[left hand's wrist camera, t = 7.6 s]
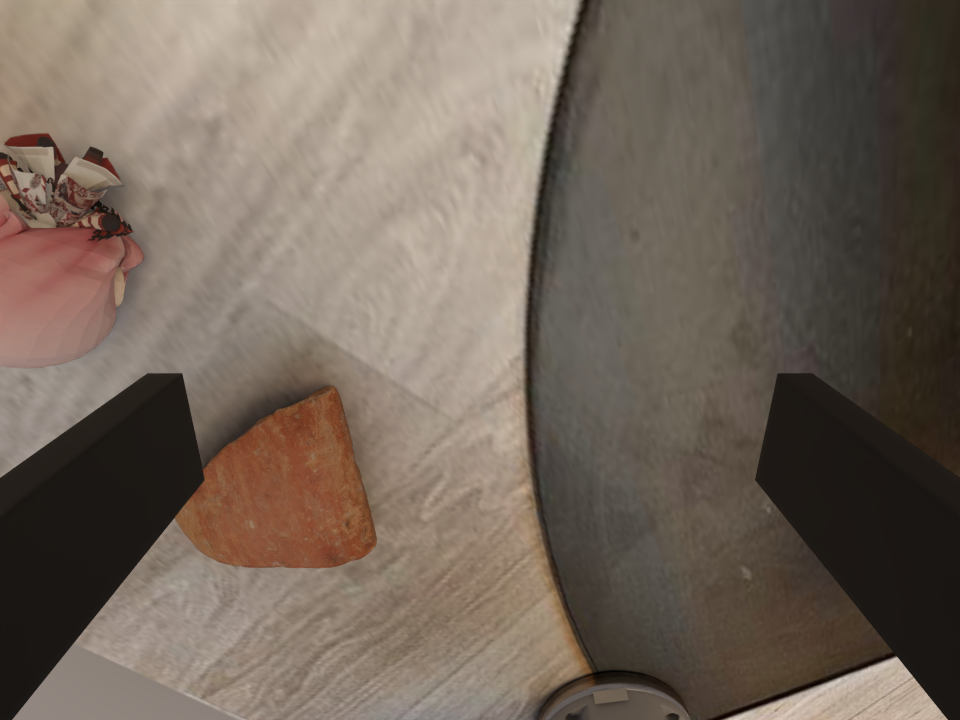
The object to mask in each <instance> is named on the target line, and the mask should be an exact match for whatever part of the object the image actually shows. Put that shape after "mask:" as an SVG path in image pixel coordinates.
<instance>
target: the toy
mask: <svg viewBox="0 0 960 720" xmlns="http://www.w3.org/2000/svg"><path fill="white" fill-rule="evenodd" d="M4 145H5V146H7V147H8V148H10V149H11V150H12V151H13V152H14V153H15V154H16V155H17V156H18V157H19V158H20V159H21V160H22V161H23V162H24V163H25V164H26V165H27V166H28V168H29V171H30V173H25V172H23V171H22V169H21V168H17V162H16V161H13V160H12V158H11V157H10V156H9V154H8V155H7V154H5V153H2V152H0V180H1V182H2V183H3V185H4V186H5V187H6V188H7V189H8V190H1V191H0V366H4V367H13V368H42V367H47V366H53V365H59V364H63V363H66V362H69V361H71V360H74V359H77V358H79V357H81V356H83V355H84V354H86V353H88V352H89V351H91V350H92V349H94V348H95V347H96V346H98V345H99V344H100V343H101V342H102V341H103V340H104V339H105V338H106V336H107V335H108V334H109V333H110V332H111V330H112V327H113V325H114V323H115V317H116V307H119V306H120V305H121V303H122V300H123V296H124V292H125V284H126V281H127V277H128V274H129V270H130V269H132V268H134V267H136V266H138V265H139V264H141V262H142V261H143V259H144V255H143V252H142V250H141V249H140V247H139V245H138V244H137V243H136V242H135V241H134V240H133V239H132V238H130V237H129V236H128V235H127V234H129V233H132V232H133V231H132V229H131V227H130V225H129V224H128V225H127V223H126V222H125V220H124V219H123V218H122V217H121V215H120V214H119V213H118V212H117V211H116V212H114V209H113V208H112V207H111V208H112V210H111V212H107V210H109V209H108V207H106V206H104V205H103V206H102V204H101V202H100V201H99V200H100V199H101V198H102V196H103V195H104V194H105V193H106V191H107V190H105V191H102V192H92V191H94V190H96V189H102V188H105V187H106V186H109V187H111V186H123V184H122V182H121V180H120V178H119V176H118V174H117V173H116V171H115V169H114V167H113V166H112V164H111V163H110V161H109V160H108V158H103V152H102V151H100V150H98V149H96V148H94V147H90V148H89V149H88V151H87V153H86V154H85V156H84V158H83V159H81V158H78V157H75V158H74V159H73V160H72V162H71V163H70V164H69V165H68V164H66V163H65V160H64V158H63V156H62V154H61V152H60V151H59V149H58V147H57V146H56V144H55V143H54V141H53V140H52V138H51V137H50V135H49V134H48V133H42V134H27V135H19V136H15V137H10V138H8V139H7V141H6V142H5V143H4ZM95 206H97V207H98V208H96V210H95V211H94V212H92V213H86V212H87V210H89V209H90V208H91V209H92V210H94V207H95ZM103 208H106V211H105V210H103ZM85 213H86V214H85ZM128 229H129V230H128Z"/></svg>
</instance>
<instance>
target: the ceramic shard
mask: <svg viewBox="0 0 960 720" xmlns="http://www.w3.org/2000/svg"><path fill="white" fill-rule="evenodd" d="M203 473H204V478H205V480H204V482H203V483H202V484H201V485H200V487H199V488H198V489H197V490H196V492H195V493H194V494H193V495H192V497H191V498H190V499H189V500H188V502H187V503H186V504H185V505H184V506H183V508H182V509H181V510H180V511H179V513H178V514H177V515H176V516H175V519H176V522H177V524H178V525H179V526H180V528H181V529H182V531H183V532H184V534H185V535H186V536H187V537H188V538H189V539H190V540H191V541H192V543H193V544H194V545H195V546H196V548H197V549H198V550H199V551H201V552H202V553H203V554H205V555H206V556H208V557H210V558H212V559H214V560H216V561H218V562H221V563H224V564H228V565H233V566H243V567H252V568H265V567H287V568H330V567H336V566H339V565H342V564H345V563H347V562H350V561H354V560H358V559H361V558H363V557H364V556H366V555H367V554H368V553H370V552H371V551H372V550H373V549H374V547H375V546H376V543H377V537H376V533H375V529H374V525H373V520H372V517H371V512H370V508H369V504H368V500H367V496H366V493H365V490H364V486H363V483H362V481H361V474H360V471H359V468H358V466H357V464H356V461H355V457H354V452H353V447H352V441H351V437H350V433H349V429H348V425H347V421H346V418H345V414H344V410H343V406H342V402H341V398H340V395H339V393H338V391H337V389H336V388H335V387H334V386H328V387H325V388H323V389H320V390H318V391H316V392H314V393H313V394H311V395H309V396H308V397H307V398H306V399H303V400H301V401H299V402H297V403H295V404H294V405H291V406H289V407H286V408H283V409H277V410H276V411H275V412H274V413H273V414H271V415H267V416H266V417H264V418H262V419H260V420H258V421H257V422H256V423H255V425H254V426H252V427H251V428H250V429H248V430H247V431H246V433H245V434H244V435H242V436H240V437H239V438H238V439H237V440H235V441H232V442H230V443H229V444H228V445H226V446H225V447H224V448H223V449H221V450H220V452H219V453H218V454H217V455H216V456H214V457H213V458H212V459H211V460H210V461H209V463H208V464H207V465H206V467H205V468H204V469H203Z"/></svg>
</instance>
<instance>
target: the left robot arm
mask: <svg viewBox="0 0 960 720" xmlns="http://www.w3.org/2000/svg"><path fill="white" fill-rule="evenodd" d="M204 480H205V478H204V473H203V469H202V464H201V459H200V455H199V450H198V445H197V441H196V436H195V431H194V426H193V422H192V417H191V412H190V408H189V403H188V398H187V394H186V389H185V384H184V379H183V375H182V373H147V374H146V375H145V376H143V377H142V378H140V379H139V380H138V381H136V382H135V383H133V384H132V385H131V386H129V387H128V388H126V389H125V390H123V391H122V392H121V393H119V394H118V395H116V396H115V397H114V398H112V399H111V400H109V401H108V402H107V403H105V404H104V405H102V406H101V407H100V408H98V409H97V410H95V411H94V412H92V413H91V414H90V415H88V416H87V417H85V418H84V419H83V420H81V421H80V422H78V423H77V424H76V425H74V426H73V427H71V428H70V429H68V430H67V431H66V432H64V433H63V434H61V435H60V436H59V437H57V438H56V439H54V440H53V441H52V442H50V443H49V444H47V445H46V446H45V447H43V448H42V449H40V450H39V451H37V452H36V453H35V454H33V455H32V456H30V457H29V458H28V459H26V460H25V461H23V462H22V463H21V464H19V465H18V466H16V467H15V468H13V469H12V470H11V471H9V472H8V473H6V474H5V475H4V476H2V477H1V478H0V720H12V719H13V718H14V717H15V715H16V714H17V713H18V712H19V710H20V709H21V708H22V707H23V705H24V704H25V703H26V702H27V701H28V699H29V698H30V697H31V696H32V694H33V693H34V692H35V691H36V689H37V688H38V687H39V686H40V684H41V683H42V682H43V681H44V679H45V678H46V677H47V676H48V674H49V673H50V672H51V671H52V669H53V668H54V667H55V666H56V664H57V663H58V662H59V661H60V659H61V658H62V657H63V656H64V654H65V653H66V652H67V651H68V649H69V648H70V647H71V646H72V645H73V643H74V642H75V641H76V640H77V638H78V637H79V636H80V635H81V633H82V632H83V631H84V630H85V628H86V627H87V626H88V625H89V623H90V622H91V621H92V620H93V618H94V617H95V616H96V615H97V613H98V612H99V611H100V610H101V608H102V607H103V606H104V605H105V604H106V602H107V601H108V600H109V599H110V597H111V596H112V595H113V594H114V592H115V591H116V590H117V589H118V587H119V586H120V585H121V584H122V582H123V581H124V580H125V579H126V577H127V576H128V575H129V574H130V572H131V571H132V570H133V569H134V567H135V566H136V565H137V564H138V562H139V561H140V560H141V559H142V557H143V556H144V555H145V554H146V553H147V551H148V550H149V549H150V548H151V546H152V545H153V544H154V543H155V541H156V540H157V539H158V538H159V536H160V535H161V534H162V533H163V531H164V530H165V529H166V528H167V526H168V525H169V524H170V523H171V521H172V520H173V519H174V518H175V516H176V515H177V514H178V513H179V511H180V510H181V509H182V508H183V506H184V505H185V504H186V503H187V502H188V500H189V499H190V498H191V497H192V495H193V494H194V493H195V492H196V490H197V489H198V488H199V487H200V485H201V484H202V483H203V482H204ZM755 480H756V482H757V483H758V484H759V485H760V487H761V488H762V489H763V490H764V492H765V493H766V494H767V495H768V497H769V498H770V499H771V500H772V502H773V503H774V504H775V505H776V506H777V508H778V509H779V510H780V511H781V513H782V514H783V515H784V516H785V518H786V519H787V520H788V521H789V523H790V524H791V525H792V526H793V528H794V529H795V530H796V531H797V533H798V534H799V535H800V536H801V538H802V539H803V540H804V541H805V543H806V544H807V545H808V546H809V548H810V549H811V550H812V551H813V553H814V554H815V555H816V556H817V557H818V559H819V560H820V561H821V562H822V564H823V565H824V566H825V567H826V569H827V570H828V571H829V572H830V574H831V575H832V576H833V577H834V579H835V580H836V581H837V582H838V584H839V585H840V586H841V587H842V589H843V590H844V591H845V592H846V594H847V595H848V596H849V597H850V599H851V600H852V601H853V602H854V604H855V605H856V606H857V607H858V608H859V610H860V611H861V612H862V613H863V615H864V616H865V617H866V618H867V620H868V621H869V622H870V623H871V625H872V626H873V627H874V628H875V630H876V631H877V632H878V633H879V635H880V636H881V637H882V638H883V640H884V641H885V642H886V643H887V645H888V646H889V647H890V648H891V650H892V651H893V652H894V653H895V654H896V656H897V657H898V658H899V659H900V661H901V662H902V663H903V664H904V666H905V667H906V668H907V669H908V671H909V672H910V673H911V674H912V676H913V677H914V678H915V679H916V681H917V682H918V683H919V684H920V686H921V687H922V688H923V689H924V691H925V692H926V693H927V694H928V696H929V697H930V698H931V699H932V701H933V702H934V703H935V704H936V705H937V707H938V708H939V709H940V710H941V712H942V713H943V714H944V715H945V717H946V718H947V719H948V720H960V478H959V477H958V476H956V475H955V474H954V473H952V472H951V471H949V470H948V469H947V468H945V467H944V466H942V465H941V464H939V463H938V462H937V461H935V460H934V459H932V458H931V457H930V456H928V455H927V454H925V453H924V452H923V451H921V450H920V449H918V448H917V447H915V446H914V445H913V444H911V443H910V442H908V441H907V440H906V439H904V438H903V437H901V436H900V435H899V434H897V433H896V432H894V431H893V430H892V429H890V428H889V427H887V426H886V425H884V424H883V423H882V422H880V421H879V420H877V419H876V418H875V417H873V416H872V415H870V414H869V413H868V412H866V411H865V410H863V409H862V408H860V407H859V406H858V405H856V404H855V403H853V402H852V401H851V400H849V399H848V398H846V397H845V396H844V395H842V394H841V393H839V392H838V391H837V390H835V389H834V388H832V387H831V386H829V385H828V384H827V383H825V382H824V381H822V380H821V379H820V378H818V377H817V376H815V375H814V374H813V373H778V375H777V379H776V384H775V389H774V394H773V398H772V403H771V408H770V412H769V417H768V422H767V426H766V431H765V436H764V441H763V445H762V450H761V455H760V459H759V464H758V469H757V473H756V478H755ZM538 720H690V717H689V714H688V711H687V709H686V706H685V704H684V702H683V700H682V699H681V697H680V696H679V695H678V694H677V693H676V692H675V691H674V690H673V689H672V688H671V687H669V686H668V685H666V684H664V683H663V682H661V681H659V680H657V679H654V678H651V677H649V676H645V675H641V674H636V673H627V672H610V673H602V674H596V675H592V676H588V677H585V678H582V679H579V680H577V681H575V682H573V683H571V684H569V685H567V686H565V687H564V688H562V689H561V690H559V691H558V692H556V693H555V694H554V695H553V696H552V697H551V698H550V699H549V700H548V701H547V702H546V704H545V705H544V707H543V708H542V710H541V712H540V714H539V717H538Z"/></svg>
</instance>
